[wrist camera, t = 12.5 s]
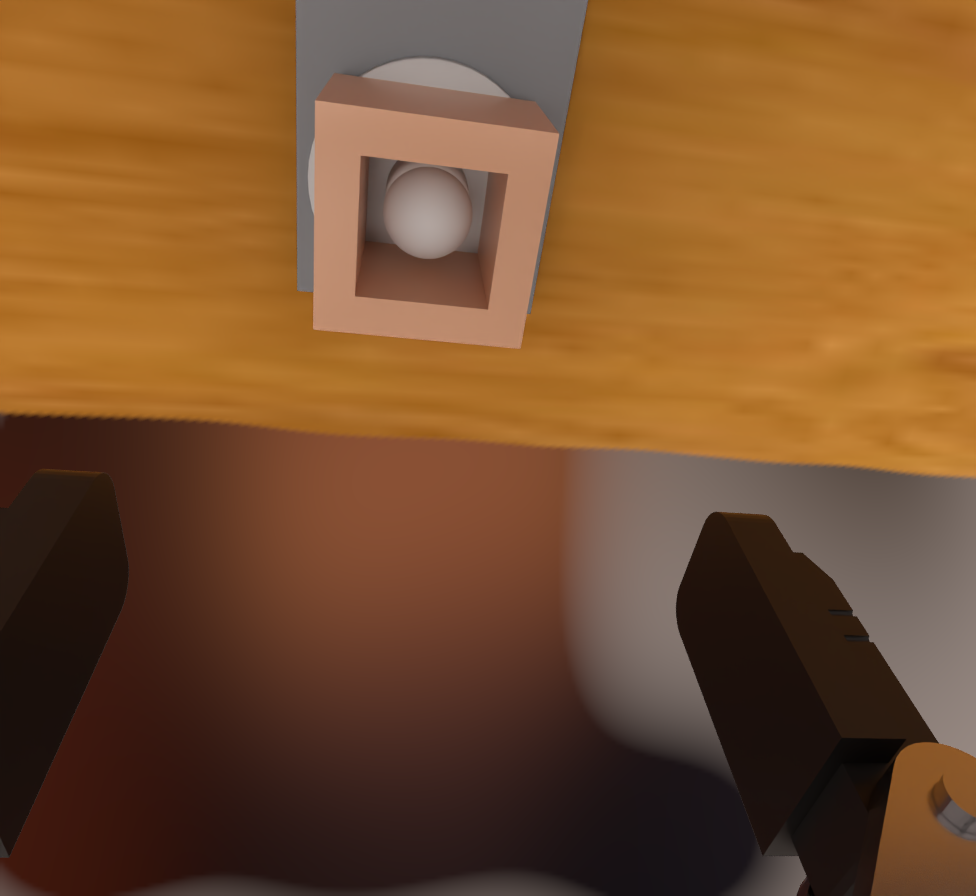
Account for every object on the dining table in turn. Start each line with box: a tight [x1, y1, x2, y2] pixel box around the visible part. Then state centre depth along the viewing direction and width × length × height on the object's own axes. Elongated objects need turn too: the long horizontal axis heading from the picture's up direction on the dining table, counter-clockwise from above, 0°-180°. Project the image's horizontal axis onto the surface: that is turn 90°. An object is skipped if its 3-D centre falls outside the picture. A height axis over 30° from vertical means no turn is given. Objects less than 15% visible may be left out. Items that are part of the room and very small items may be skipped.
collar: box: [313, 73, 559, 349], centre depth 23 cm, size 6×6×5 cm
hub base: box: [296, 0, 588, 314], centre depth 22 cm, size 17×9×6 cm, turn 172°
